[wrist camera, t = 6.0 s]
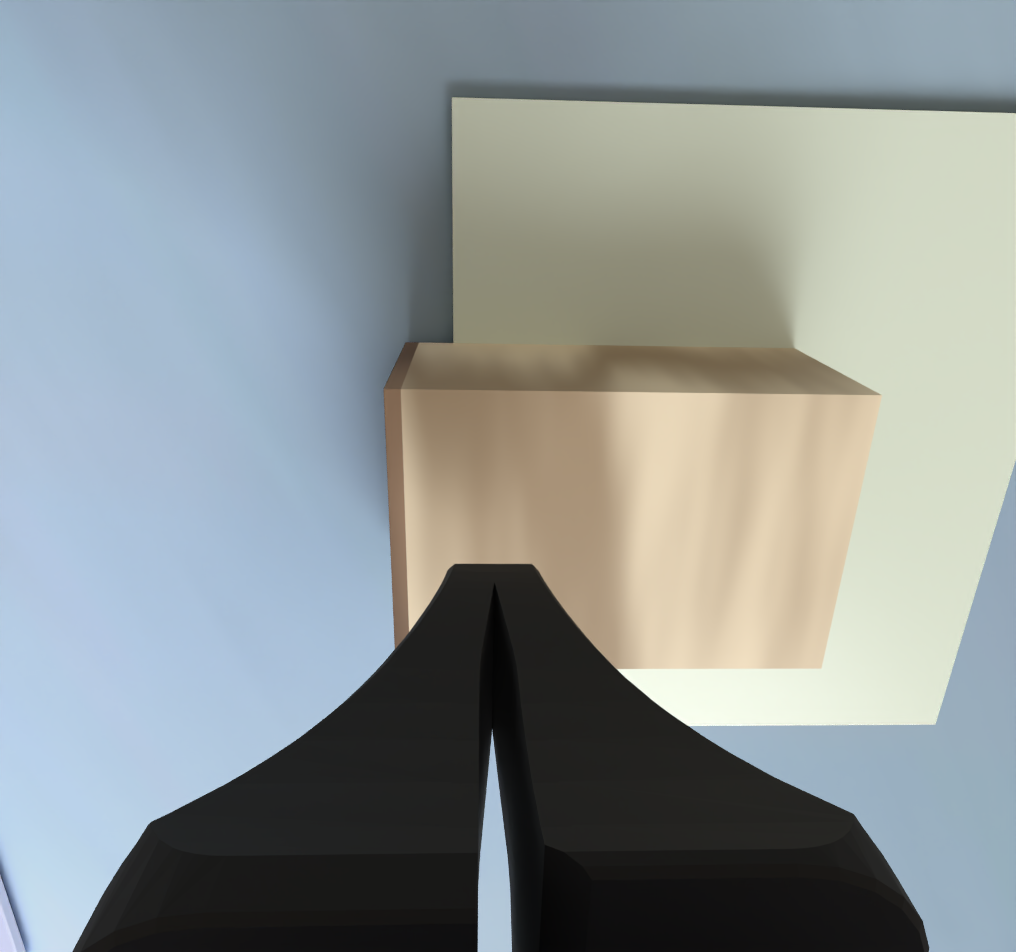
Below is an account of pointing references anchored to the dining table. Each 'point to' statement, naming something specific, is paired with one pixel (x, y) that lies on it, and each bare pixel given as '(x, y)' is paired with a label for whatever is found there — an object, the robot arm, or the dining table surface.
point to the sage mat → (782, 329)
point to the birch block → (634, 490)
